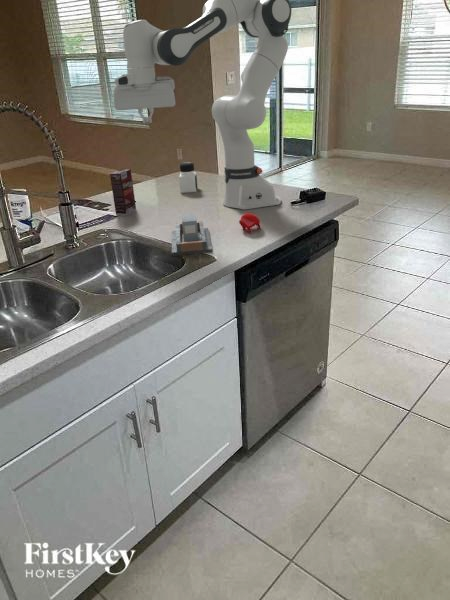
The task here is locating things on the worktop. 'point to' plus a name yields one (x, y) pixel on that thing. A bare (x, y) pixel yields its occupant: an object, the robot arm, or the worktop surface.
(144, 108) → the robot arm
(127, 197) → the supplement box
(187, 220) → the block
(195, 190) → the medicine bottle
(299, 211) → the worktop surface
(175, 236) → the grey tray
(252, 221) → the red toy chair
